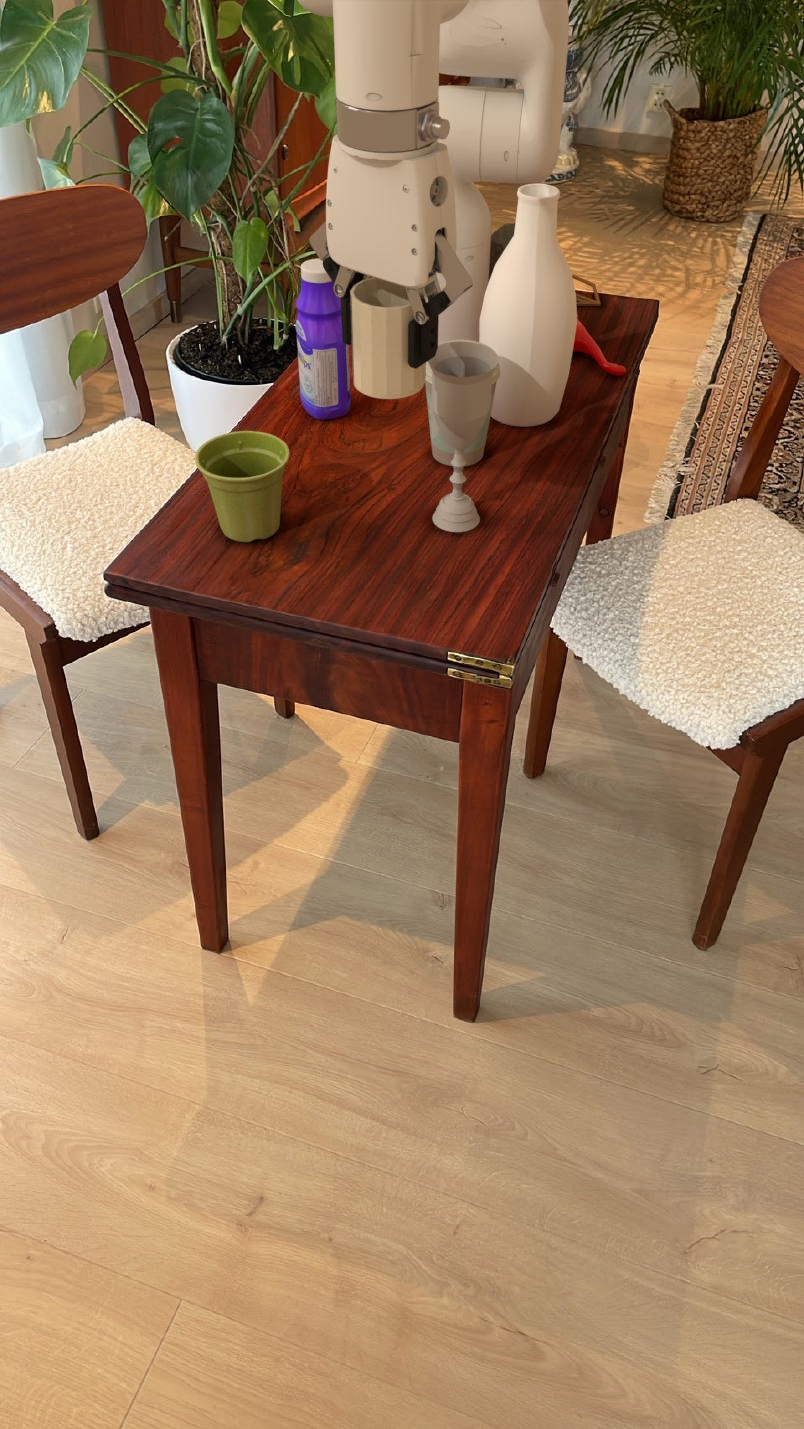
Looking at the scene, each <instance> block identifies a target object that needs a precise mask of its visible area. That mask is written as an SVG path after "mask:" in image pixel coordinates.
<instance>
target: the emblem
mask: <svg viewBox="0 0 804 1429" xmlns="http://www.w3.org/2000/svg"><path fill="white" fill-rule="evenodd" d="M572 278H573V280H576V281H578V282H580V283H583V284H585V285H587V286H588V287H589V286H590V287H591V288H592V291H593V295H594V299H593V298H590V297H587V296H585V295H582V294H579V293H578V292H577V293H576V292H575V293H576V305H577V307H601V306H602V305H601V300H600V296H599V293H598V290H597V289H598V288H597V285H596V283H595V282H592V281H589V280H588V279H585V278H583V277H580V276H578V275H576V274H572Z"/></svg>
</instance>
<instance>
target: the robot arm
mask: <svg viewBox="0 0 804 1429" xmlns="http://www.w3.org/2000/svg"><path fill="white" fill-rule="evenodd" d="M296 1H297V3H299V5H300V6H301V7H302V8H303V9H304V10H306V11H307V12H309V13H311V14H313V15H316V16H320V17H328V18H332V19H333V44H334V46H333V48H334V72H335V73H334V76H335V101H336V102H335V104H336V105H335V106H336V132H337V134H335V135H334V136H333V137H332V140H331V146H330V151H329V158H328V167H327V178H326V193H325V221H324V222H323V223H322V224H321V225H320V226H319V227H318V228H317V229H316V230H315V232H314V233H312V234H311V236H310V237H309V240H308V242H309V245H310V247H311V248H312V249H313V251H314V252H315V254H316V255H317V257H318V259H320V260H322V261H323V268H324V269H325V271H326V273H327V274H328V276H329V277H330V279H331V280H332V282H333V283H334V287H333V290H334V293H335V295H336V296H338V297H340V298H341V322H342V340H343V343H344V344H347V345H348V346H352V336H351V304H350V291H351V289H352V287H353V286H354V285H355V284H357V283H358V282H360V281H362V280H364V279H367V277H368V276H369V277H370V278H372V277H374V278H378V279H381V280H384V281H387V282H390V283H394V284H397V285H400V286H403V287H405V289H406V292H407V296H408V299H409V302H410V305H411V308H412V312H413V315H414V318H415V319H413V320H412V321H410V322H409V324H408V364H409V366H410V367H412V368H415V369H416V368H418V367H420V366H421V365H423V364H424V363H426V362H427V361H429V360H430V359H432V358H433V357H434V356H435V355H436V351H437V349H438V343H441V342H445V341H450V340H471V341H476V342H479V320H480V315H481V311H482V306H483V301H484V296H485V292H486V289H487V286H488V280H489V262H490V244H491V235H492V228H493V227H492V226H493V225H492V222H493V221H492V214H491V211H490V208H489V206H488V204H487V201H486V200H485V198H484V196H483V194H482V193H481V191H480V190H479V188H478V187H477V185H476V183H482V182H485V183H502V184H524V185H527V184H539V183H542V182H544V181H546V180H547V179H548V178H550V176H551V175H552V174H553V172H554V170H555V168H556V164H557V161H558V156H559V151H560V143H561V134H562V123H563V122H562V121H563V111H564V110H563V109H564V99H565V98H564V97H565V84H566V72H567V59H568V48H569V29H570V28H569V26H570V14H569V13H570V12H569V4H568V0H296ZM440 74H442V75H448V76H455V77H456V76H458V77H471V78H473V77H474V78H489V79H490V78H491V79H510V80H511V79H513V80H516V81H517V82H518V83H519V84H520V85H521V87H522V88H504V87H488V86H475V85H472V86H471V85H455V84H454V85H453V84H451V85H449V84H448V85H440ZM422 288H424V289H425V292H426V295H427V303H426V301H425V298H424V295H423V291H422Z"/></svg>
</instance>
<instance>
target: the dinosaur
mask: <svg viewBox="0 0 804 1429" xmlns="http://www.w3.org/2000/svg"><path fill="white" fill-rule="evenodd" d="M577 352H578V353H583V354H587V355H589V356H590V357H592V358H593V359H594V360H595V362H597V364H598V365H599V366H600V368H601V369H602V370H604V371H605V372H607V373H609V374H611V375H613V376H617V377H623V376H624V375H625V374H626V373H627V369H626V367H625V366H624V365H622V364H617V363H613V362H609V361H608V360H607V359H606V357H605V355H604V353H603V351H602V349H601V347H600V346H599V345H598V344H597V343H596V341H595V340H594V338H593V337H592V336H591V335H590V333H589V332H588V330H587V329H586V327H585V326H584V324H583V323H582V322H581V321H580V320H579V314H578V313H577V326H576V333H575V339H574V346H573V352H572V353H577Z"/></svg>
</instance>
